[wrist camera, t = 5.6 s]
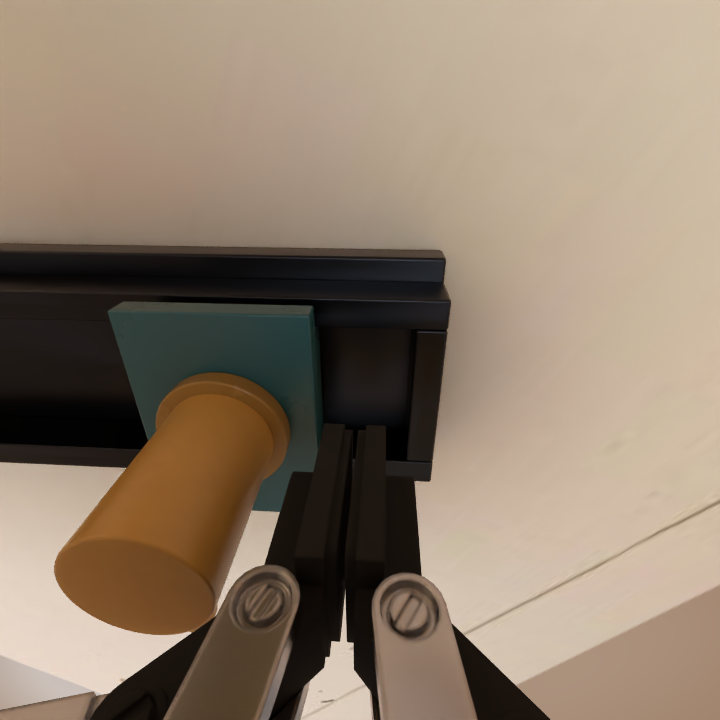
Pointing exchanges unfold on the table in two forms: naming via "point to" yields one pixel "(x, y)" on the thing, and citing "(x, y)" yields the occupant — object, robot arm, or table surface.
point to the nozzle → (196, 457)
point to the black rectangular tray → (217, 286)
